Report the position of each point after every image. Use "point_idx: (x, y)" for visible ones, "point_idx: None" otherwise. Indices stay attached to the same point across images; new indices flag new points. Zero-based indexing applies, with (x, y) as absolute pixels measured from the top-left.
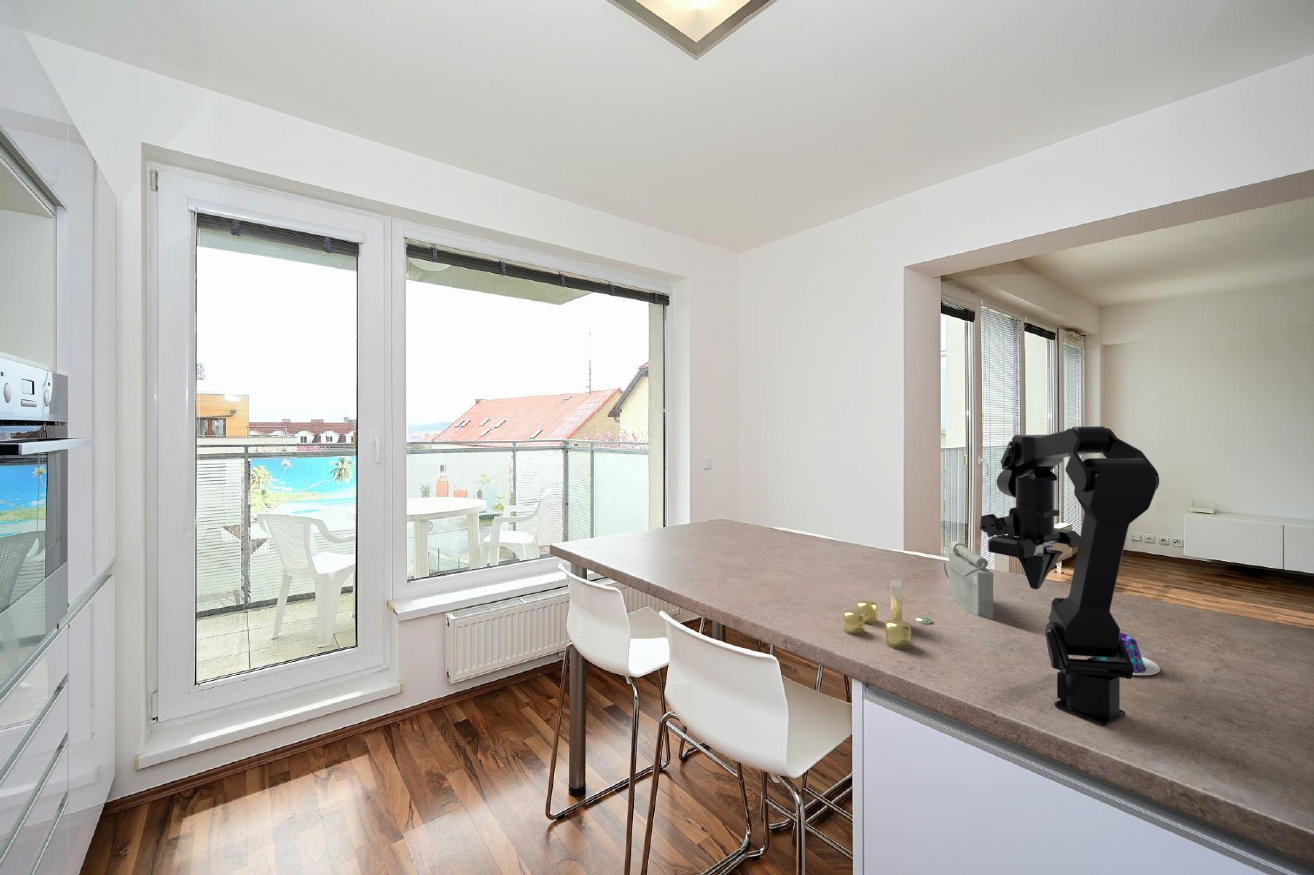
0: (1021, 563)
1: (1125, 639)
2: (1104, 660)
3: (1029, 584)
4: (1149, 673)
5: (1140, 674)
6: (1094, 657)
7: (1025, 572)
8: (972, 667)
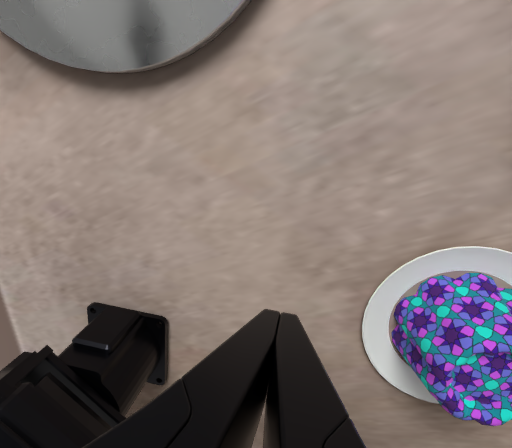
0: (101, 439)
1: (500, 401)
2: (403, 329)
3: (253, 318)
4: (423, 391)
5: (399, 379)
6: (414, 307)
7: (195, 371)
8: (110, 115)
